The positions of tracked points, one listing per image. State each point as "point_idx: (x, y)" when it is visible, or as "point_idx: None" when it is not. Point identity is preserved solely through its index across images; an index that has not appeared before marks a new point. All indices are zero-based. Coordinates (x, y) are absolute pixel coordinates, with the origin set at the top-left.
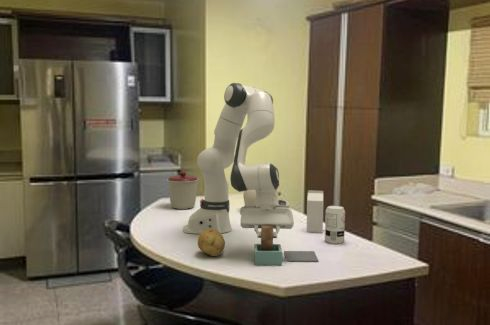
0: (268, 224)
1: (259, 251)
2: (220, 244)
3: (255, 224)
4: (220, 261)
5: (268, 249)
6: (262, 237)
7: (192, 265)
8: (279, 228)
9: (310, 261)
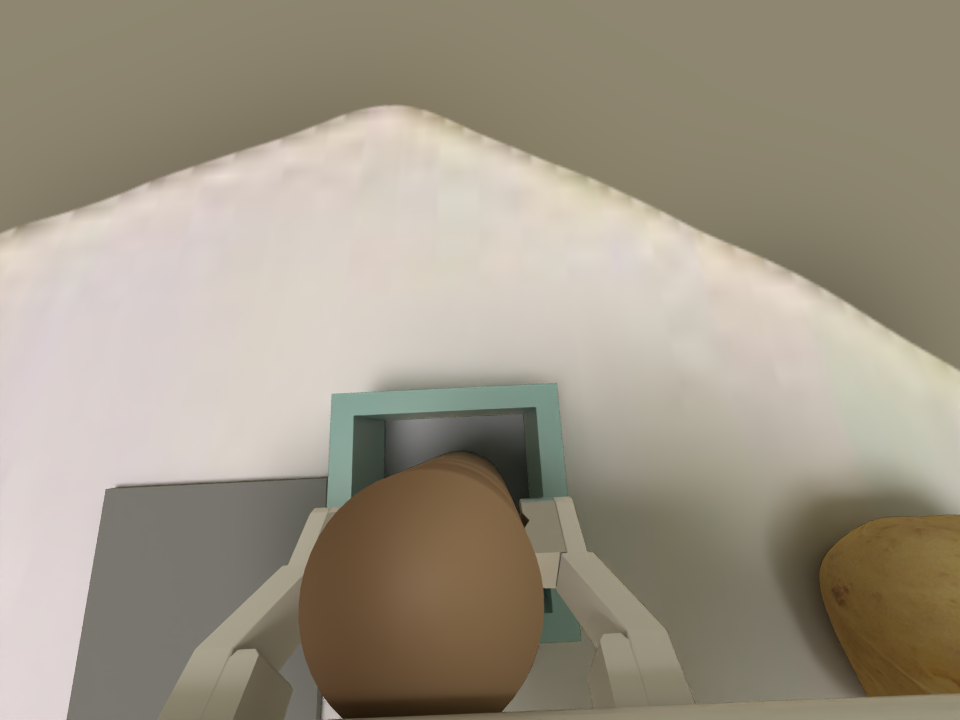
0: (388, 718)
1: (518, 389)
2: (907, 548)
3: (681, 706)
4: (769, 451)
5: (443, 454)
6: (502, 485)
7: (918, 359)
8: (206, 639)
9: (167, 485)
